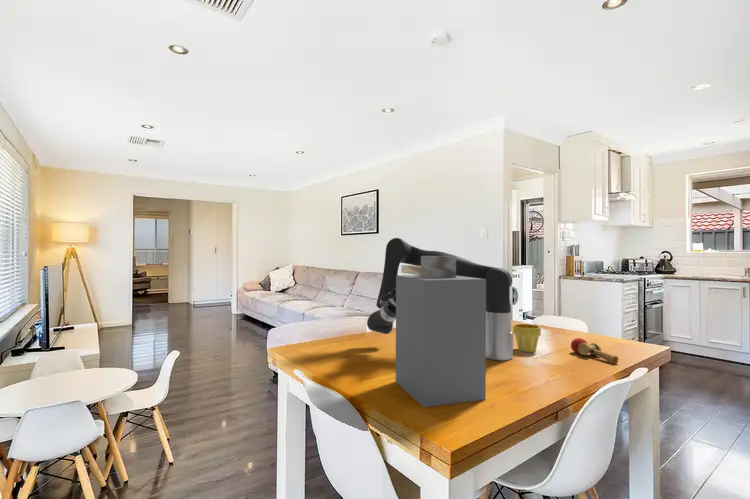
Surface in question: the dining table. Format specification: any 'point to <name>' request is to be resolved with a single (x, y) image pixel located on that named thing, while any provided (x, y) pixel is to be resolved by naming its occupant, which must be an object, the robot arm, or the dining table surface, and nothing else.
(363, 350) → the dining table surface
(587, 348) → the kendama
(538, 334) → the plant pot
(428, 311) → the tall grey box
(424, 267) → the tan and grey block
